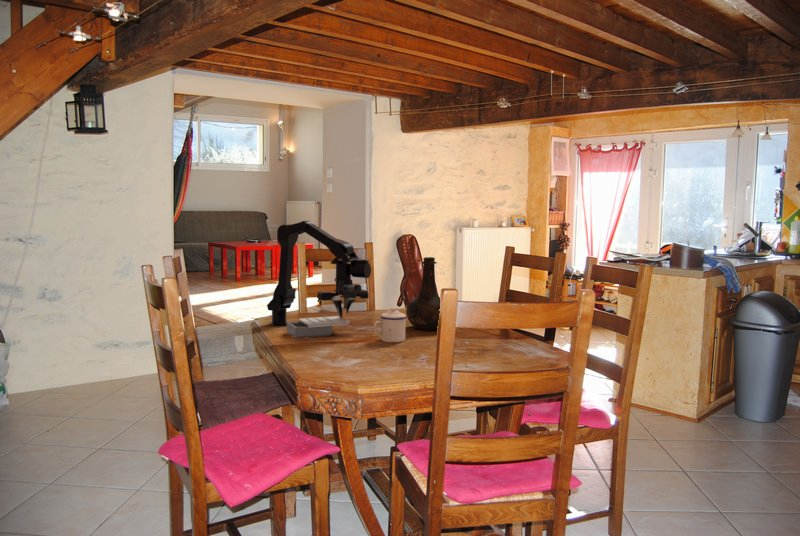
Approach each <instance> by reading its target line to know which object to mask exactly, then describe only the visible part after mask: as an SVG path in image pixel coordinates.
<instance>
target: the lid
mask: <svg viewBox="0 0 800 536" xmlns="http://www.w3.org/2000/svg"><path fill="white" fill-rule="evenodd" d="M347 315H348V313H347V309H346V308H344V306H342V318H340V317H339V315H337V316H336V315H335V316H333V315H332V316H320V317H317V316H314V317H305V318H303V317H302V318H298V322H302V323H304V324H306V325H307V326H308V328H310V327H324V326H332V327H335V326H347V325H348V324H350V323H351V321H350V320H348V318H347Z"/></svg>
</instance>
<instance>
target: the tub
mask: <svg viewBox="0 0 800 536" xmlns="http://www.w3.org/2000/svg"><path fill="white" fill-rule="evenodd" d="M287 333H288V334H287ZM286 334H287V335H289V336H290V335H291V337H292V336H293V337H294V339H295V338H297V339H306V338H305V337H309V338H320V337H319V336H321V337H332V336H333V326H324V327H310V328H308V326H307V325H306V324H304V323H302V322H299V321H292V322H291V321H290V322H287V325H286ZM331 335H332V336H331ZM293 337H292V338H293Z"/></svg>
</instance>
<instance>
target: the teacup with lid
mask: <svg viewBox="0 0 800 536" xmlns="http://www.w3.org/2000/svg"><path fill="white" fill-rule="evenodd" d="M380 318H381V320H377V321H375V322H374V323H373V331H374V333H375V334H377V335H380V340H381V341H382V342H385V343H393V342H395V343H402V342H404V341H406V318H407V315H406V313H402V312H400V311H399V310H397V308H396V307H391V308H390V310H388V311H386V312H383V313H381V315H380ZM378 324H380V327H381V328H380V332H379V331H378V330H377V325H378Z"/></svg>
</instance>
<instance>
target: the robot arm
mask: <svg viewBox="0 0 800 536" xmlns="http://www.w3.org/2000/svg"><path fill="white" fill-rule="evenodd" d="M276 231H277V232H276V234H277V241H278V244H279V246H280V253H279V266H278V267H279V269H278V281H277V282H278V283H277V285H276V286H275V289H274V291H273V295H272V299H271V300H269V302H268V303H267V305H266V307H267V308H266V309H267V310H268V311H271V321H270V322H268V323H269V325H270V326H272V327H281V326H283V327H284V326H287V323H288V322H287V320H288V319H287V312H288V311H287V310H288V309H290V308H291V306H292V304H293V303H294V301H295V299H296V291H297V289H296V288H293V285H292V272H293V271H292V270H293V257H294V248H295V245H296V244H297V242H298V239H299V235H302V234H306V235H308V236H310V237H311V238H313V239H315V241H318V242H319V243H320V244H321V245H324V246H325V247H326V248H327V249H328V250H329V252H330V253H331V254H332V255H333V257H334V258H333V260H332V261H330V264H331V265H335V278H334V281H335V288H334V292H332V291H328V290H320V291H318V292H317V294H316V295H317V296H316V299H317V300H320V301H324V302H325V301H331V302H332V303H333V304H334V306H335V307H334V308H335V309H336V311H337V313H338V316H339V317H340V318H342V307H343V308H346V309H347V314H348V312H349V310H350V308H351V306H352V304H353V303H354V302H356V301H357V299H356V298H357V297H359V299H369V295H370V294H369V292H368V290H365V289H362V285H361V284H355V285H354V283H353V279H352V277H353V278H359V279H360V278H361V279H369V278H370V277H371V273H372V267H371V264H370V263H369V259H359V257H358V255H357V253H356V252H355V250H354V246H353V244H352V243H350V242H348V241H345V240H343V239H340V238H336V237H334V236H333V235H331V234H329V233H328V232H327V231H325V230H323V229H322V228H320V227H319V226H317V225H316V224H315V223H313V222H312V221H311V220H302V221H300V222H296V223H292V224H289V223H288V224H281V225H280V226H279V227H277V230H276ZM341 298H343V300H342V299H341ZM342 303H343V306H342Z"/></svg>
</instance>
